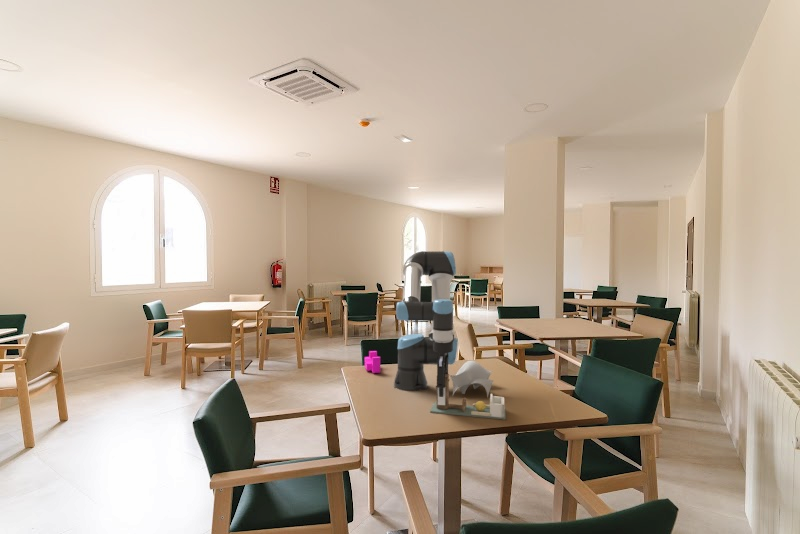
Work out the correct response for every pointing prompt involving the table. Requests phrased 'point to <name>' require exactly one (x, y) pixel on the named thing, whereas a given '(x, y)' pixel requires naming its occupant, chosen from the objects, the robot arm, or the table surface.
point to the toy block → (372, 362)
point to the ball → (480, 406)
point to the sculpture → (471, 377)
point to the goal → (496, 406)
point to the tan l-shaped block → (448, 398)
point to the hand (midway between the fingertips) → (442, 401)
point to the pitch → (466, 411)
